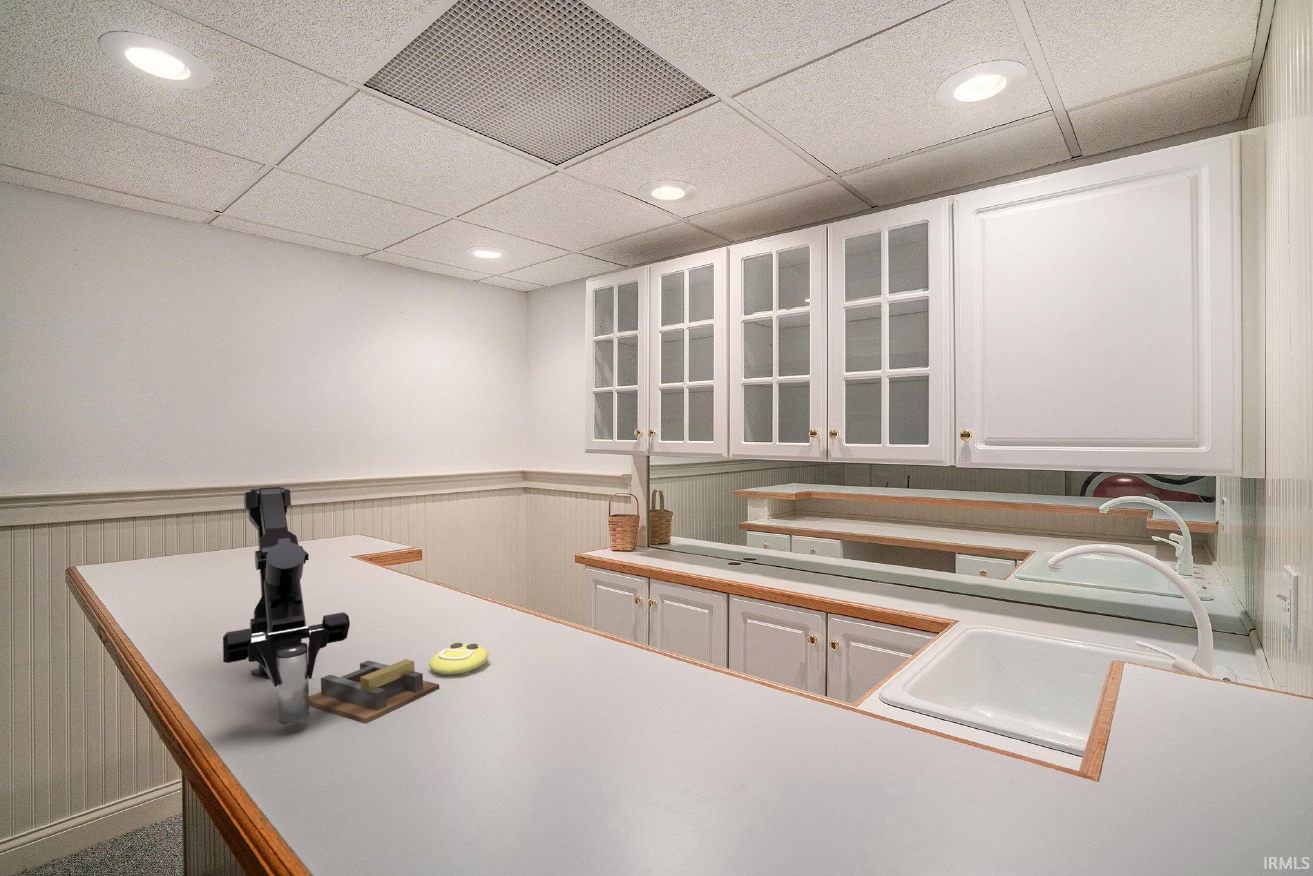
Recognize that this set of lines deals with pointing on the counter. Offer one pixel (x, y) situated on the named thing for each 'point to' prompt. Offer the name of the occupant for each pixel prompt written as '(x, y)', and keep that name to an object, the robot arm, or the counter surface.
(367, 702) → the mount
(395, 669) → the bar
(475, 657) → the emoji
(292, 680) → the metal canister
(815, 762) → the counter surface
